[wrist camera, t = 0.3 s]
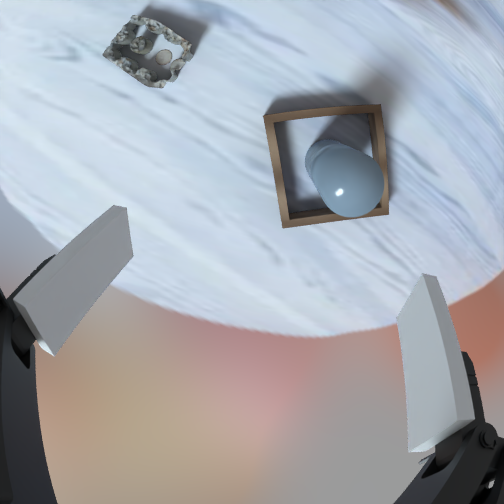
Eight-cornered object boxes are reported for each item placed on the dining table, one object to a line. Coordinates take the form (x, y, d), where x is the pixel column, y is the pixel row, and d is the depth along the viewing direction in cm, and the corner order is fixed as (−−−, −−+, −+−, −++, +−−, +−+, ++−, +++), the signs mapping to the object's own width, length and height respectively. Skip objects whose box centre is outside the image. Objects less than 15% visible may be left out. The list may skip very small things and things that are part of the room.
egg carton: (202, 50, 29) (194, 43, 26) (165, 95, 32) (153, 93, 28) (145, 15, 26) (132, 7, 23) (112, 58, 29) (96, 54, 26)
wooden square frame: (263, 115, 32) (263, 115, 30) (373, 104, 30) (380, 104, 28) (282, 221, 38) (282, 228, 36) (382, 208, 37) (388, 214, 34)
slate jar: (301, 142, 34) (315, 155, 23) (348, 137, 33) (382, 148, 22) (308, 188, 36) (323, 221, 26) (353, 182, 35) (385, 213, 25)
